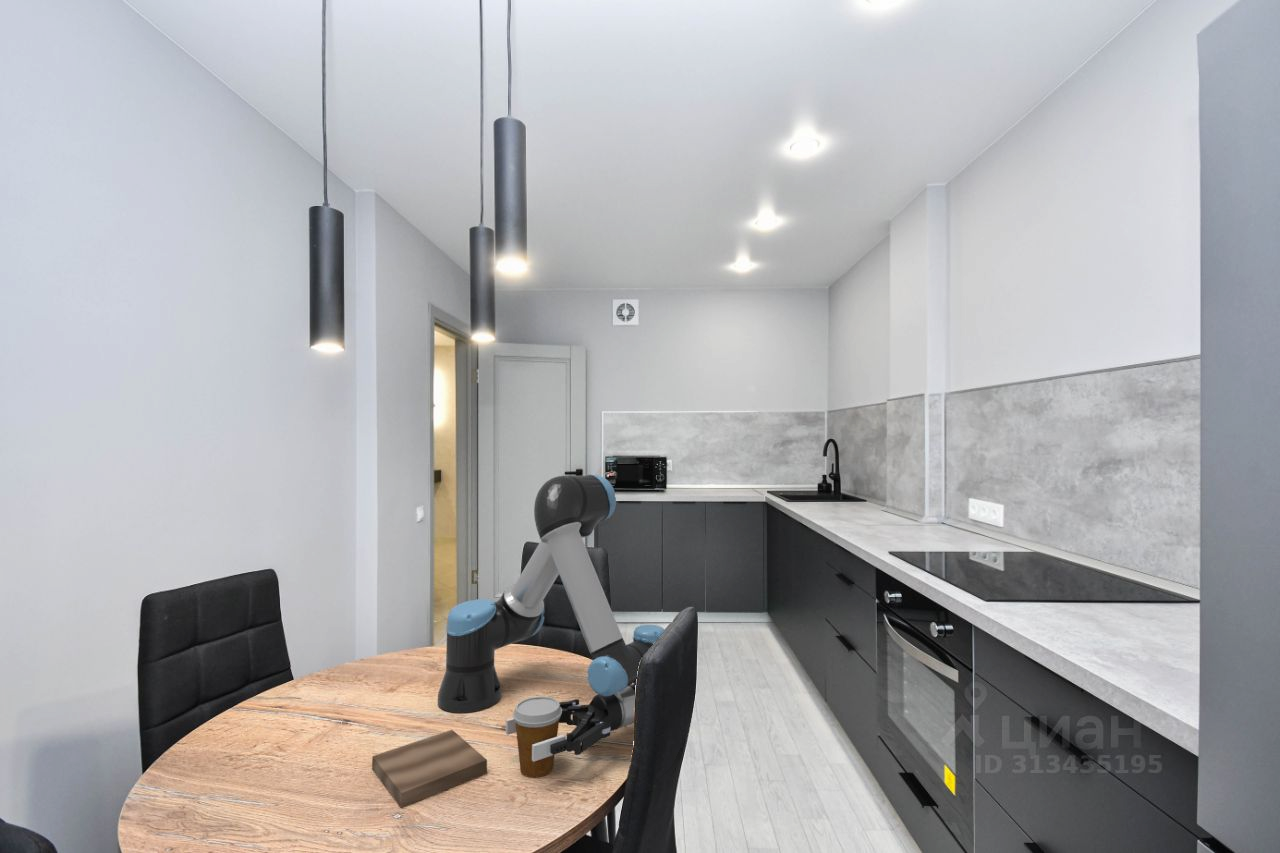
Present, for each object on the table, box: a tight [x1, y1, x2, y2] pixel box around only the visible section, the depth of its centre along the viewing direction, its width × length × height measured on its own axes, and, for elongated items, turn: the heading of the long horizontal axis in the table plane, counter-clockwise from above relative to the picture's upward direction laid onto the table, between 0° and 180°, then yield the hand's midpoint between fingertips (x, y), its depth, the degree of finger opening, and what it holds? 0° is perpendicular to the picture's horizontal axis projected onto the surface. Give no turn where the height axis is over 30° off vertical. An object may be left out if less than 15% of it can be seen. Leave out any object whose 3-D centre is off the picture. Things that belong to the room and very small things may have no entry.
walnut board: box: [371, 729, 488, 808], centre depth 107 cm, size 16×16×2 cm
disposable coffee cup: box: [512, 696, 562, 779], centre depth 109 cm, size 10×10×12 cm
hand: (518, 739), depth 107 cm, fingers open, 11 cm apart
